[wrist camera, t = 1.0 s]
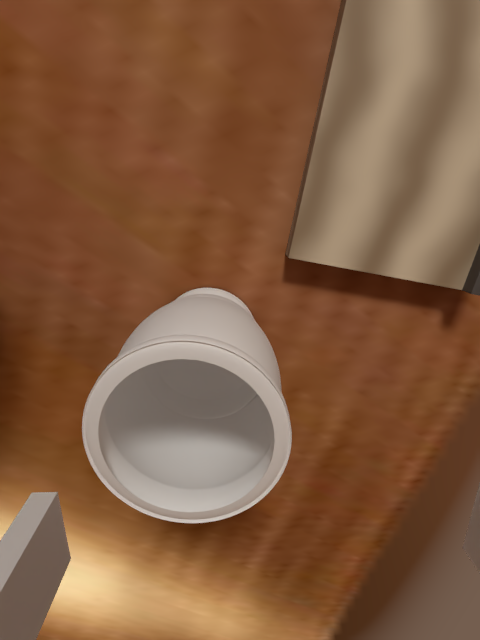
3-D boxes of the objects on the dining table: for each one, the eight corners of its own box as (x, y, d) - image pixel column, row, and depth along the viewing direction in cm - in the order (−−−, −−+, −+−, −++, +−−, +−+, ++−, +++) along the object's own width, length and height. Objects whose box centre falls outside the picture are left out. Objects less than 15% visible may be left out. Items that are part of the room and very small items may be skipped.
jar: (277, 377, 34) (306, 509, 19) (167, 397, 34) (116, 539, 20) (257, 263, 30) (273, 320, 16) (135, 287, 31) (47, 362, 17)
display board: (285, 254, 30) (290, 260, 27) (344, -14, 25) (359, -44, 22) (464, 287, 31) (488, 297, 28) (559, 37, 26) (602, 15, 22)
